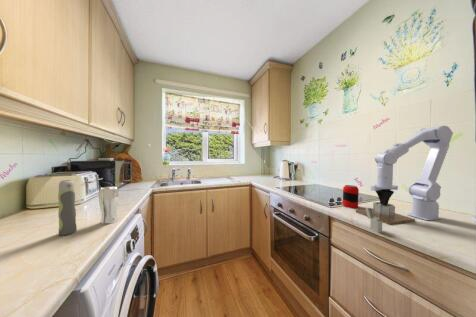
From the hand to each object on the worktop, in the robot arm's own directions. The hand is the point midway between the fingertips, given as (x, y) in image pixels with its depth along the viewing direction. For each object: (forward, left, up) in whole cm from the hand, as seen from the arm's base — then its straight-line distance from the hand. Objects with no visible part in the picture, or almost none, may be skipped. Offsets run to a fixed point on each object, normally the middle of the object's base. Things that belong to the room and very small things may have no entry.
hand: (383, 204), depth 85 cm
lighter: (+19, +10, -6) cm, 22 cm away
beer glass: (+127, -22, -6) cm, 129 cm away
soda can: (+2, -17, -6) cm, 18 cm away
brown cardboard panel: (0, 0, -6) cm, 6 cm away
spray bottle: (+137, -13, -6) cm, 138 cm away
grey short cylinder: (0, 0, -5) cm, 5 cm away
